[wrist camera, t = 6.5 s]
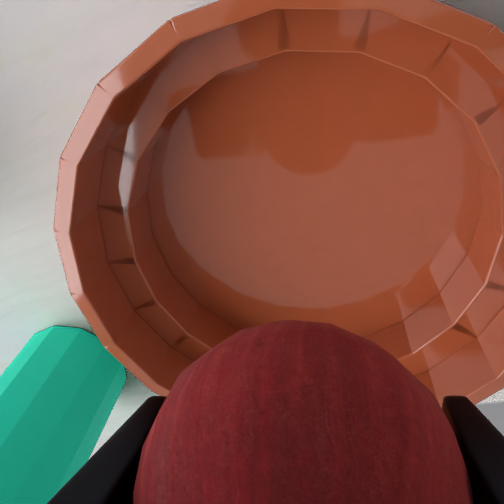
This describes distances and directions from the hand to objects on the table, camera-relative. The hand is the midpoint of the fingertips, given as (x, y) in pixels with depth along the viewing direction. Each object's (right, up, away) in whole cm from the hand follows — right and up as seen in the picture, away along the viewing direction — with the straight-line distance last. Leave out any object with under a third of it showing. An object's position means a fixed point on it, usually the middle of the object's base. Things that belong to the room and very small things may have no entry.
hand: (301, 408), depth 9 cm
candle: (-11, -3, +16) cm, 20 cm away
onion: (0, +1, +2) cm, 2 cm away
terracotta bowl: (+1, +5, +10) cm, 11 cm away
